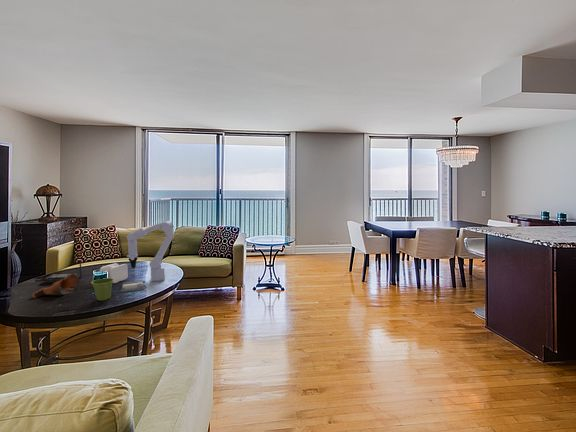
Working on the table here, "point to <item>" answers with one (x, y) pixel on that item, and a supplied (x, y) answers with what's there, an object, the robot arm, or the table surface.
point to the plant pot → (103, 288)
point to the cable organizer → (116, 271)
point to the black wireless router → (60, 276)
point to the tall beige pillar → (133, 285)
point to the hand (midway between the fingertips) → (133, 267)
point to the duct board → (133, 288)
